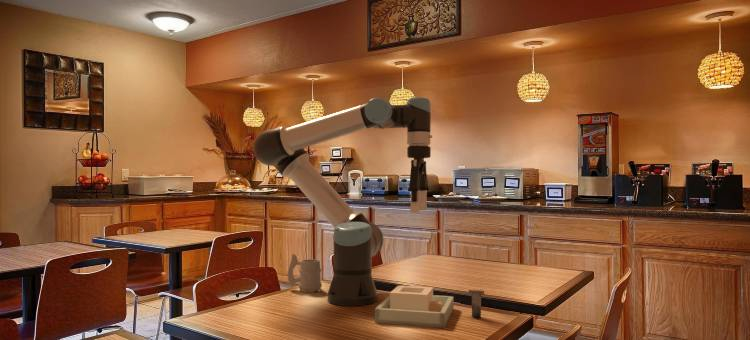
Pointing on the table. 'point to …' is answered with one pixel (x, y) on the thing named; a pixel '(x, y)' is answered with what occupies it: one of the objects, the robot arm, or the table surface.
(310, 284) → the mug
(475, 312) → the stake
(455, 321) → the table surface
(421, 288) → the beige recessed block
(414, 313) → the tray
